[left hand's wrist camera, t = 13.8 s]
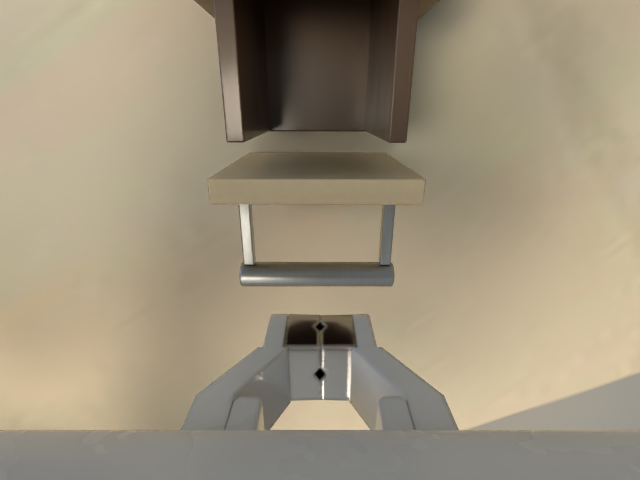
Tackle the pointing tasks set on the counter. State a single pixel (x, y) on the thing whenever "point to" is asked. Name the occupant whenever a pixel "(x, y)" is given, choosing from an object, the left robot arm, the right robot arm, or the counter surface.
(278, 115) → the drawer
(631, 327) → the counter surface
